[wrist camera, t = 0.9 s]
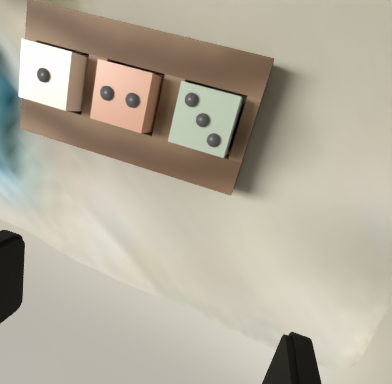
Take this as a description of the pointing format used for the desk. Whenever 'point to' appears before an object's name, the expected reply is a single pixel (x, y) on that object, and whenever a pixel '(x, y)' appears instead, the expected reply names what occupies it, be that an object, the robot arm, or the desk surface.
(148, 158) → the button board
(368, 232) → the desk surface
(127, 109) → the button two dots
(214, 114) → the button three dots
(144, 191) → the desk surface
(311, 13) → the desk surface
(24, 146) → the desk surface
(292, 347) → the robot arm
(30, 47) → the button one dot
